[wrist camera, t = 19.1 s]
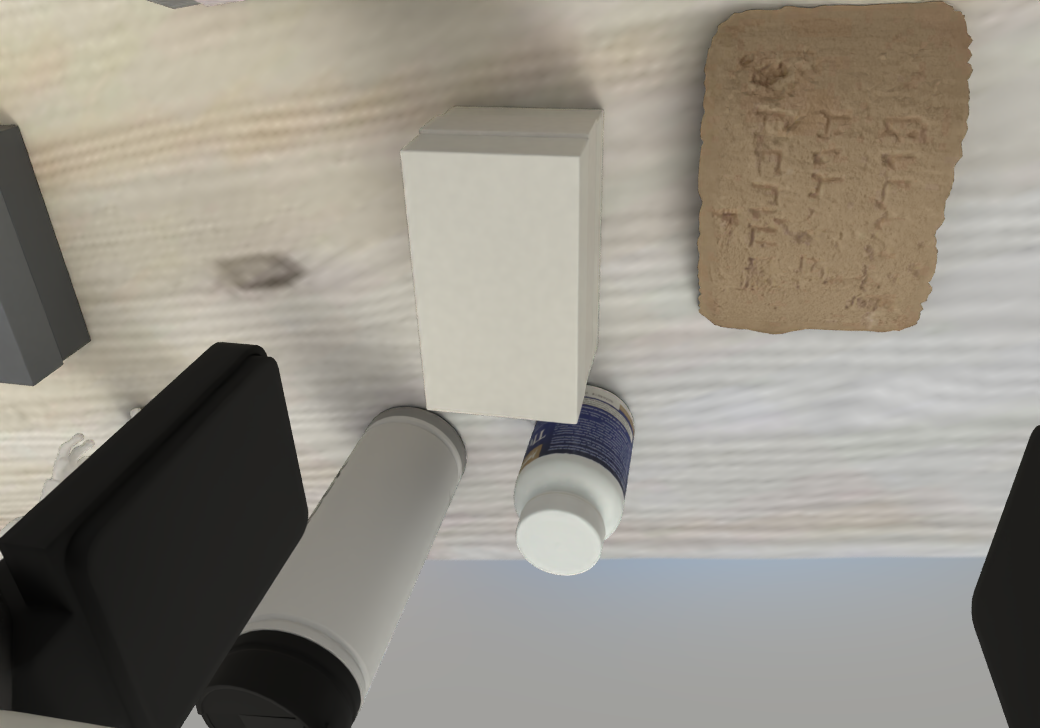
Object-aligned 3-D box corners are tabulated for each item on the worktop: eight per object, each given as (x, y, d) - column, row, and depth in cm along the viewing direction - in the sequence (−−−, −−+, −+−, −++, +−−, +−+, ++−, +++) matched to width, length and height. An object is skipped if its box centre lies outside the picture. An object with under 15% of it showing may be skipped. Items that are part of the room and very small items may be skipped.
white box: (419, 133, 33) (398, 150, 31) (589, 138, 32) (580, 155, 29) (441, 382, 39) (425, 410, 37) (585, 395, 38) (577, 425, 36)
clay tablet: (912, 330, 38) (925, 358, 36) (693, 324, 40) (692, 350, 38) (974, -4, 31) (995, 4, 28) (704, 11, 33) (703, 20, 31)
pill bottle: (542, 374, 43) (501, 487, 35) (641, 389, 43) (623, 509, 34) (536, 453, 46) (497, 575, 38) (629, 469, 45) (610, 597, 37)
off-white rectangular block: (452, 101, 37) (418, 129, 33) (604, 104, 36) (589, 133, 31) (468, 334, 43) (441, 382, 39) (597, 344, 42) (584, 395, 38)
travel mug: (485, 485, 48) (361, 805, 31) (387, 493, 50) (221, 798, 33) (455, 398, 45) (301, 697, 29) (352, 410, 47) (152, 697, 31)
